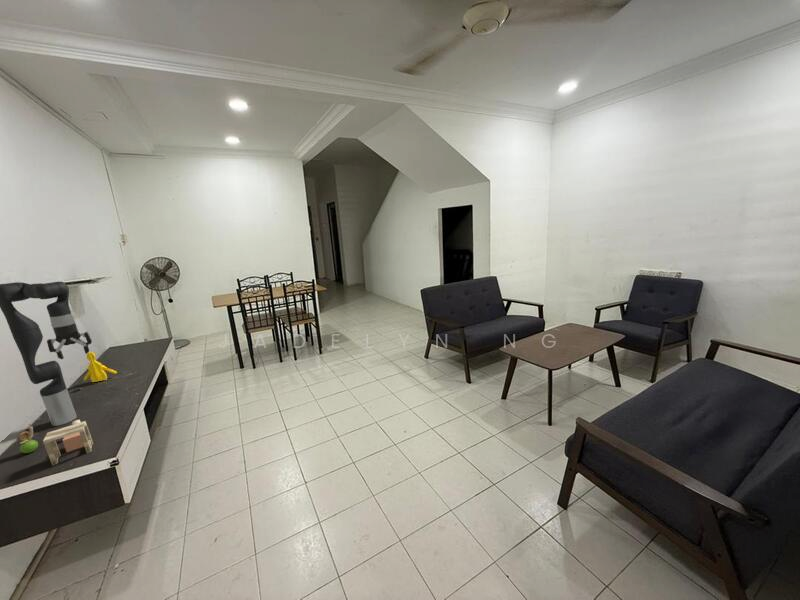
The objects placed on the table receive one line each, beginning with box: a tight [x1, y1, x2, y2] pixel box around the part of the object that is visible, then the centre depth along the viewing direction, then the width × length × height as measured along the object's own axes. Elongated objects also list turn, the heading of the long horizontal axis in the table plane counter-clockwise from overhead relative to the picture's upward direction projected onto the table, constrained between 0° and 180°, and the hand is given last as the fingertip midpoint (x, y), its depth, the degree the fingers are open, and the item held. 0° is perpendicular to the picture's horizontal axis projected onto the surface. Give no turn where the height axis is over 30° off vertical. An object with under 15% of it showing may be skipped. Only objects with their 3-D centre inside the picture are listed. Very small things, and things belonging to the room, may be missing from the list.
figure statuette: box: [83, 351, 118, 383], centre depth 211 cm, size 18×8×22 cm, turn 117°
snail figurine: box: [17, 423, 39, 454], centre depth 142 cm, size 5×6×12 cm
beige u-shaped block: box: [42, 420, 94, 466], centre depth 137 cm, size 8×12×12 cm, turn 129°
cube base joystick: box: [62, 419, 85, 453], centre depth 147 cm, size 15×6×8 cm, turn 39°
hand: (74, 355), depth 152 cm, fingers open, 8 cm apart
